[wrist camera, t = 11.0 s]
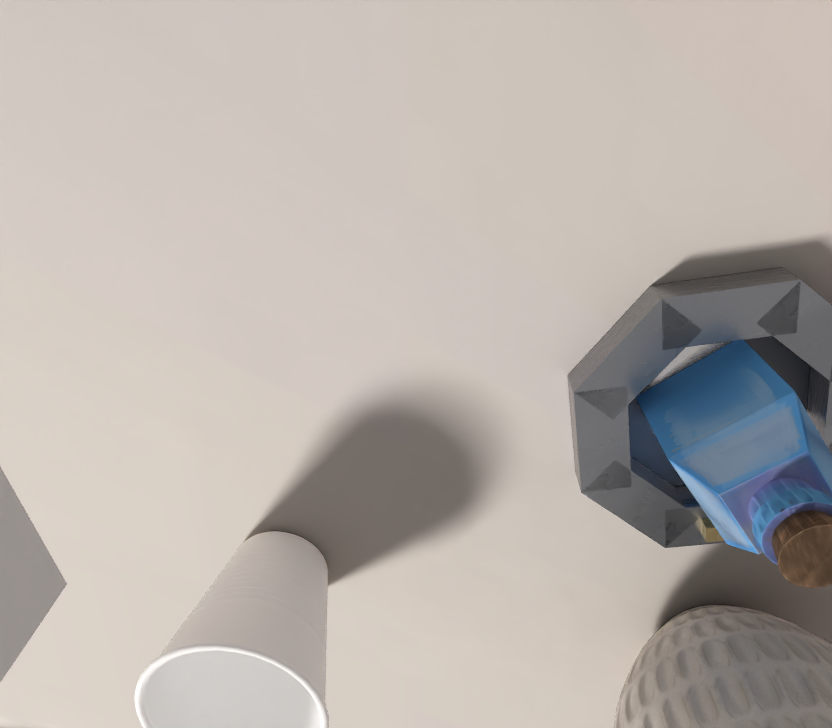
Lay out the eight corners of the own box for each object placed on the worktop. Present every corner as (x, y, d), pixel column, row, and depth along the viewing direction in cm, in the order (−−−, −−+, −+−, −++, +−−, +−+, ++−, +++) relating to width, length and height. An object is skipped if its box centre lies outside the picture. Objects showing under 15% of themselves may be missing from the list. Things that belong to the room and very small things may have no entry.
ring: (561, 298, 34) (569, 317, 32) (878, 253, 33) (914, 271, 30) (580, 533, 41) (588, 564, 38) (846, 507, 39) (873, 538, 36)
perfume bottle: (789, 420, 37) (929, 573, 26) (687, 473, 39) (778, 636, 28) (740, 336, 35) (868, 464, 24) (635, 396, 37) (710, 540, 26)
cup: (367, 517, 41) (339, 665, 31) (347, 631, 45) (317, 793, 36) (210, 490, 41) (131, 630, 31) (204, 607, 45) (134, 762, 35)
